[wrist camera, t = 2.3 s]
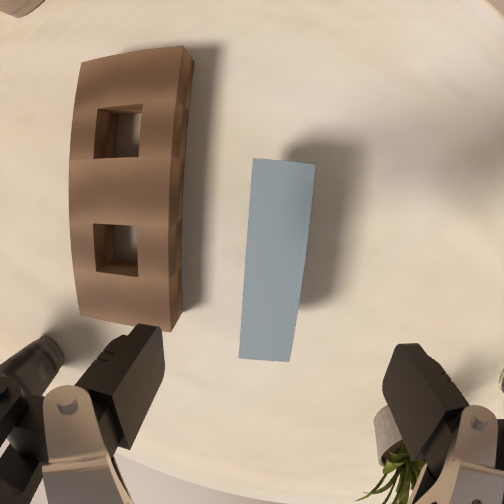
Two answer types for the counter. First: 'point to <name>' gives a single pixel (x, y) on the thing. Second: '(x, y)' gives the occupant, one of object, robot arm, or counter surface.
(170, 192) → the brown wooden slab
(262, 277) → the grey bridge block
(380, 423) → the house plant
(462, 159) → the counter surface
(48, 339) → the beverage cup
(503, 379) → the coffee can
